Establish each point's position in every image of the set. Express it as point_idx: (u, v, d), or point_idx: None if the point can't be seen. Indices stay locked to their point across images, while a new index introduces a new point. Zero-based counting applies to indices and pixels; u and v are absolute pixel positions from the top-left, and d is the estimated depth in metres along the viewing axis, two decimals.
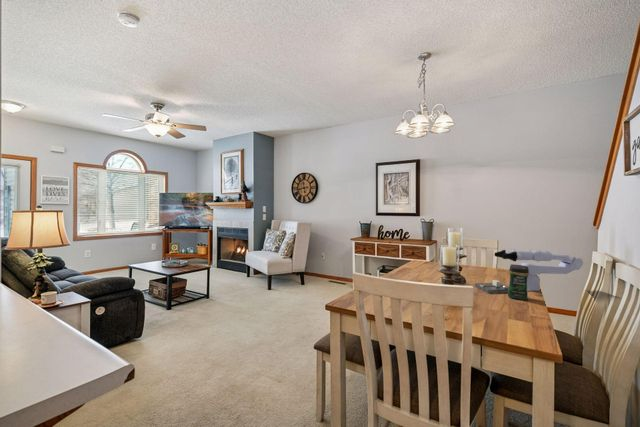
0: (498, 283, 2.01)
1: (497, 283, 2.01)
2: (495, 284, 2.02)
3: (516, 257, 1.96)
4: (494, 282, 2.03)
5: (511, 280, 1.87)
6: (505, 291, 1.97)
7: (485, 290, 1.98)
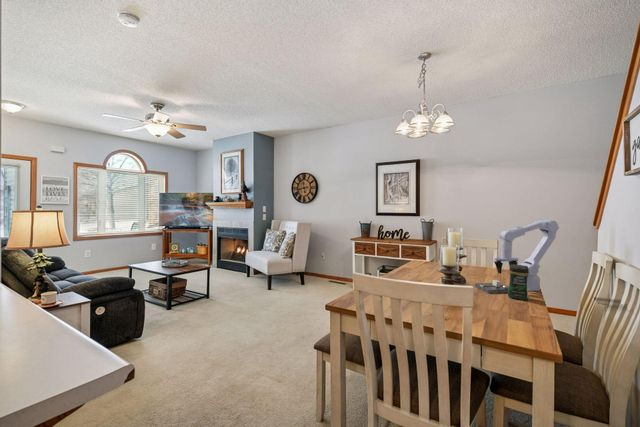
0: (498, 283, 2.01)
1: (497, 283, 2.01)
2: (495, 284, 2.02)
3: (496, 262, 2.02)
4: (494, 282, 2.03)
5: (511, 280, 1.87)
6: (505, 291, 1.97)
7: (485, 290, 1.98)
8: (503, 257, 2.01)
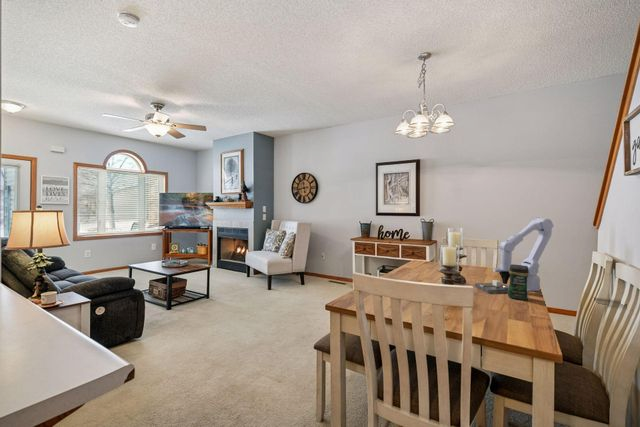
0: (498, 283, 2.01)
1: (497, 283, 2.01)
2: (495, 284, 2.02)
3: (501, 272, 2.03)
4: (494, 282, 2.03)
5: (511, 280, 1.87)
6: (505, 291, 1.97)
7: (485, 290, 1.98)
8: (503, 268, 2.02)
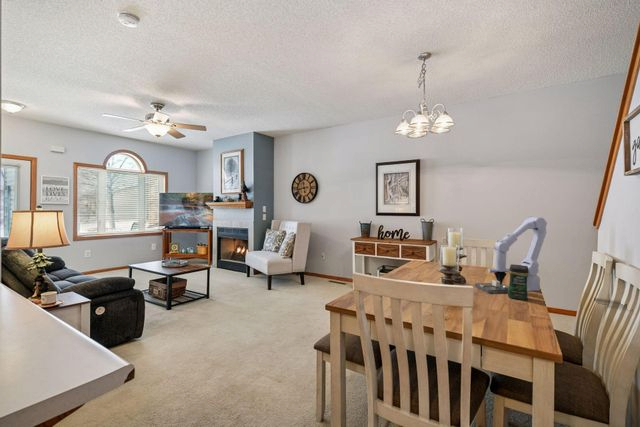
0: (498, 283, 2.01)
1: (497, 283, 2.01)
2: (495, 284, 2.02)
3: (496, 273, 2.02)
4: (494, 282, 2.03)
5: (511, 280, 1.87)
6: (505, 291, 1.97)
7: (485, 290, 1.98)
8: (497, 268, 2.01)
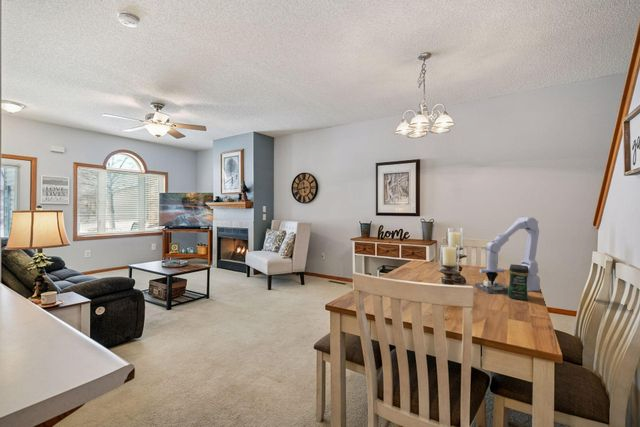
0: (489, 283, 2.01)
1: (488, 283, 2.01)
2: (486, 284, 2.02)
3: (488, 273, 2.02)
4: (485, 282, 2.03)
5: (511, 280, 1.87)
6: (505, 291, 1.97)
7: (485, 290, 1.98)
8: (489, 268, 2.01)
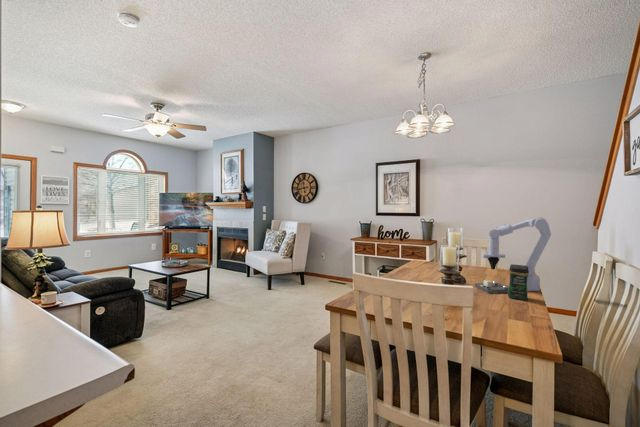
0: (489, 283, 2.01)
1: (488, 283, 2.01)
2: (486, 284, 2.02)
3: (489, 258, 2.13)
4: (485, 282, 2.03)
5: (511, 280, 1.87)
6: (505, 291, 1.97)
7: (485, 290, 1.98)
8: (491, 254, 2.11)
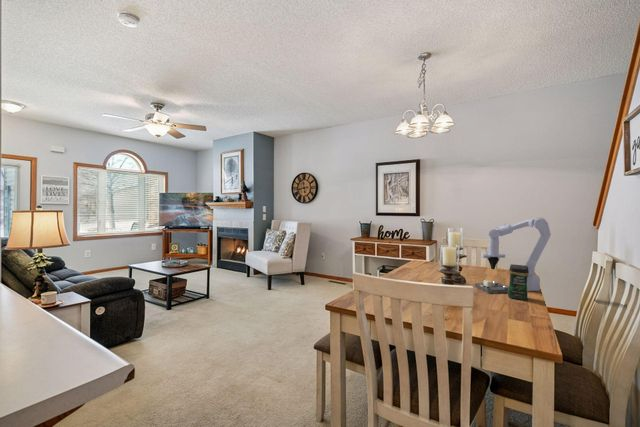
0: (489, 283, 2.01)
1: (488, 283, 2.01)
2: (486, 284, 2.02)
3: (489, 258, 2.13)
4: (485, 282, 2.03)
5: (511, 280, 1.87)
6: (505, 291, 1.97)
7: (485, 290, 1.98)
8: (490, 254, 2.12)
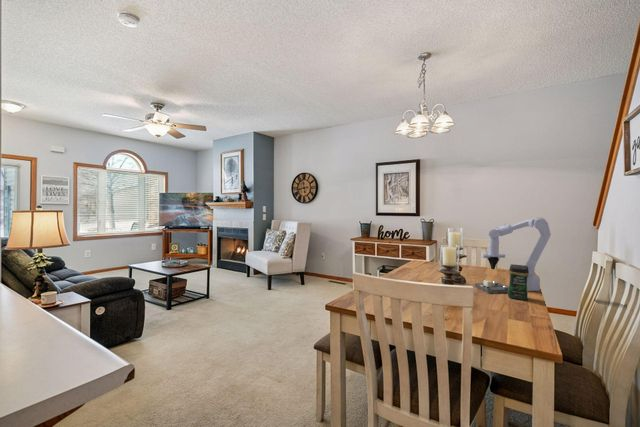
0: (489, 283, 2.01)
1: (488, 283, 2.01)
2: (486, 284, 2.02)
3: (489, 258, 2.13)
4: (485, 282, 2.03)
5: (511, 280, 1.87)
6: (505, 291, 1.97)
7: (485, 290, 1.98)
8: (490, 254, 2.12)
